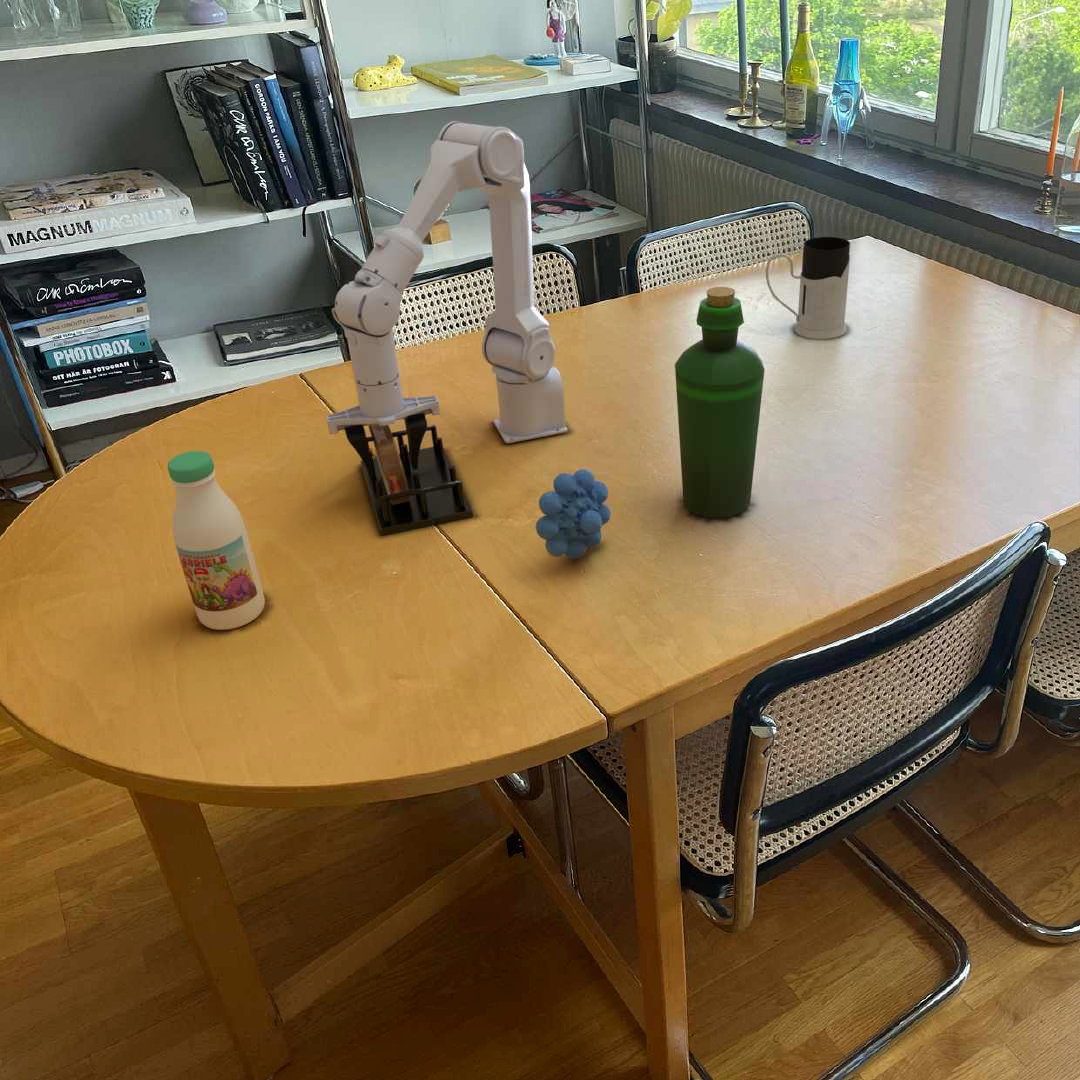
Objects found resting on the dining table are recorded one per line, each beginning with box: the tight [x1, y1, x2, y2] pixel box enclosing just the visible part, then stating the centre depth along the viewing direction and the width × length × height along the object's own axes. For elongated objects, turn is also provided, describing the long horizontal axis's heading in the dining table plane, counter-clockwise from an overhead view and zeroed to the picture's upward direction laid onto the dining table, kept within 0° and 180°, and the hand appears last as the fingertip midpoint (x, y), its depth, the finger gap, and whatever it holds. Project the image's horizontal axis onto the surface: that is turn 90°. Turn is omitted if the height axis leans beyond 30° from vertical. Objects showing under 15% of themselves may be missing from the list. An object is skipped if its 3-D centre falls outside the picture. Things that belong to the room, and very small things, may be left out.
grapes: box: [535, 468, 611, 560], centre depth 121 cm, size 12×7×12 cm, turn 135°
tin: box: [368, 424, 411, 505], centre depth 138 cm, size 15×3×8 cm, turn 16°
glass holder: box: [765, 236, 851, 340], centre depth 175 cm, size 9×14×15 cm, turn 89°
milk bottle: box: [167, 450, 266, 631], centre depth 115 cm, size 8×8×20 cm
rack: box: [360, 424, 474, 536], centre depth 140 cm, size 12×20×5 cm, turn 16°
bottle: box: [674, 286, 765, 518], centre depth 125 cm, size 11×11×28 cm
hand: (392, 470), depth 139 cm, fingers open, 5 cm apart
